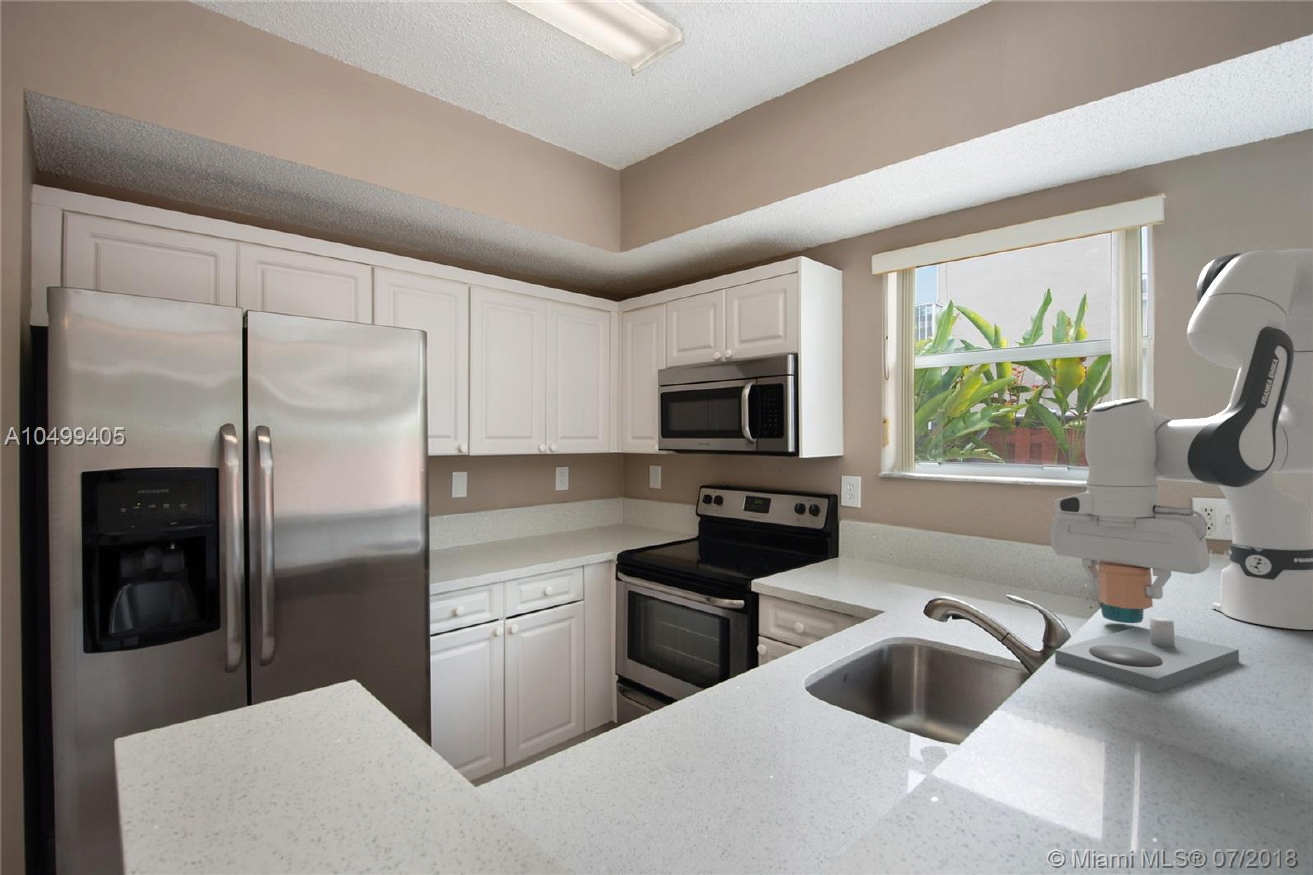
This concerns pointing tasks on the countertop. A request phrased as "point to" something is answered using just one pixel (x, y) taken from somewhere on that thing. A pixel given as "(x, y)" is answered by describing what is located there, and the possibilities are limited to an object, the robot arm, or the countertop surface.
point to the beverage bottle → (1122, 614)
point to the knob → (1124, 585)
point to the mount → (1148, 656)
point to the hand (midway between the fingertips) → (1125, 592)
